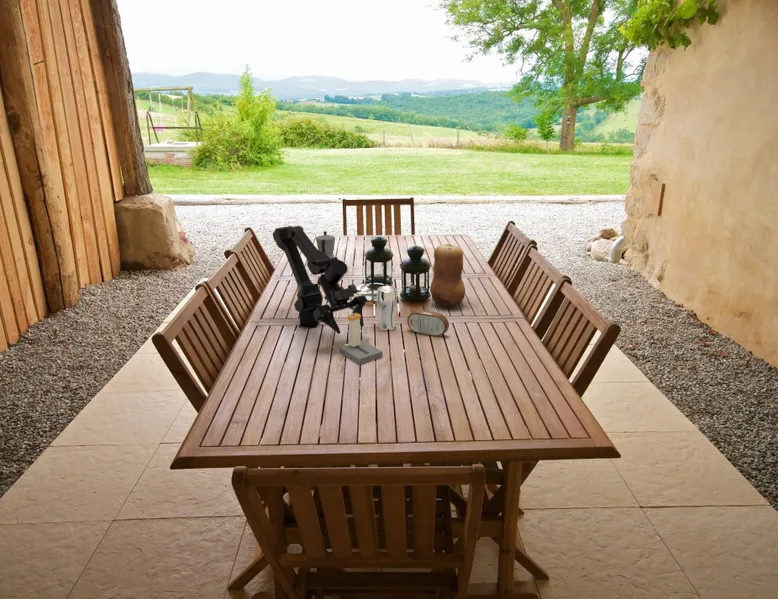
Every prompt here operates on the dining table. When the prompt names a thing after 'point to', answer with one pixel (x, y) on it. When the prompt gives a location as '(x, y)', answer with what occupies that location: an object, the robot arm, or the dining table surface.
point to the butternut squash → (447, 276)
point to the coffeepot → (326, 244)
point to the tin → (428, 322)
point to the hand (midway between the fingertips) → (351, 329)
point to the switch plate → (360, 352)
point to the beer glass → (386, 306)
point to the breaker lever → (354, 329)
